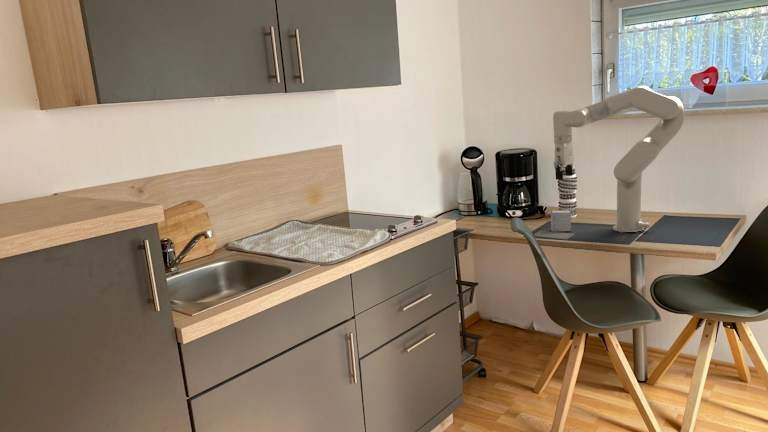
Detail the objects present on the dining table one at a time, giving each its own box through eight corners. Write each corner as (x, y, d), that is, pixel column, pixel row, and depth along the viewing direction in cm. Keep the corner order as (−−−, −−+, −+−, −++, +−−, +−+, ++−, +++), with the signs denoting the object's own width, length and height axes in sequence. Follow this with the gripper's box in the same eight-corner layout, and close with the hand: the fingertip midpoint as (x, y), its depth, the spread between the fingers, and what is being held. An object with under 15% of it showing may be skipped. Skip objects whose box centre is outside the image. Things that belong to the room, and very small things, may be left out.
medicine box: (568, 229, 272) (569, 210, 270) (570, 231, 267) (571, 212, 266) (550, 229, 273) (550, 210, 271) (552, 232, 268) (552, 212, 267)
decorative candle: (571, 218, 290) (570, 166, 285) (554, 216, 297) (553, 165, 292) (581, 215, 296) (580, 164, 291) (564, 213, 303) (563, 163, 297)
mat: (575, 234, 262) (575, 234, 262) (566, 239, 256) (566, 239, 256) (540, 231, 273) (540, 230, 273) (531, 235, 266) (531, 235, 266)
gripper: (562, 141, 260) (563, 181, 263) (579, 136, 273) (580, 174, 276) (546, 142, 265) (547, 180, 268) (563, 137, 277) (564, 174, 281)
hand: (564, 177), depth 272 cm, fingers open, 9 cm apart
